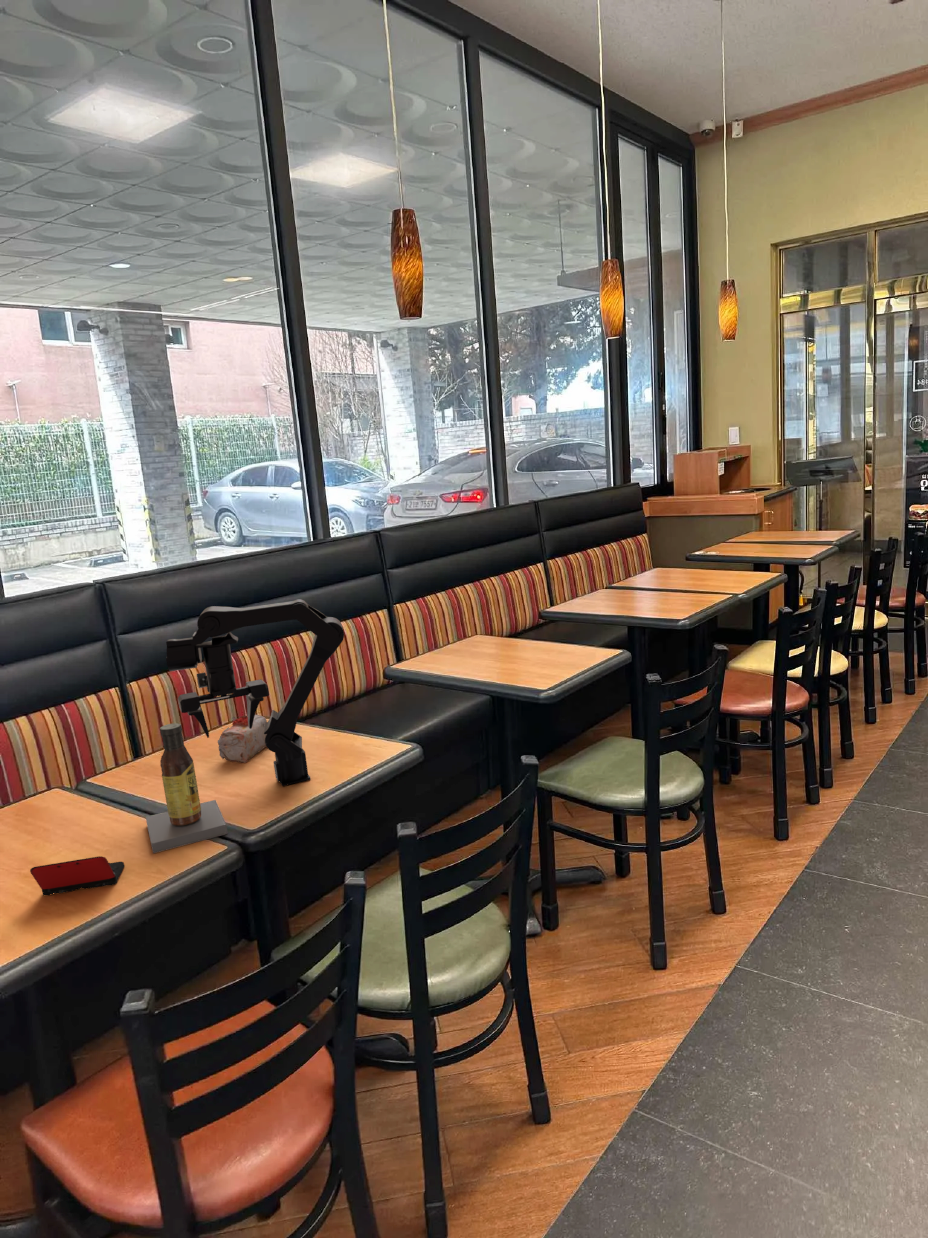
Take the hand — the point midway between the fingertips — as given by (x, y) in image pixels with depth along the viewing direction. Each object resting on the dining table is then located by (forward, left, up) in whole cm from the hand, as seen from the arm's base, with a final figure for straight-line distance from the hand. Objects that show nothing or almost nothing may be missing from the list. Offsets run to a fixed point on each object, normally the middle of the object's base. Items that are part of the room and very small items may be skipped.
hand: (229, 732), depth 184 cm
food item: (-6, -21, -13) cm, 25 cm away
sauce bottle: (+13, +16, -11) cm, 23 cm away
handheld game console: (+32, +28, -14) cm, 45 cm away
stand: (+13, +16, -13) cm, 24 cm away
